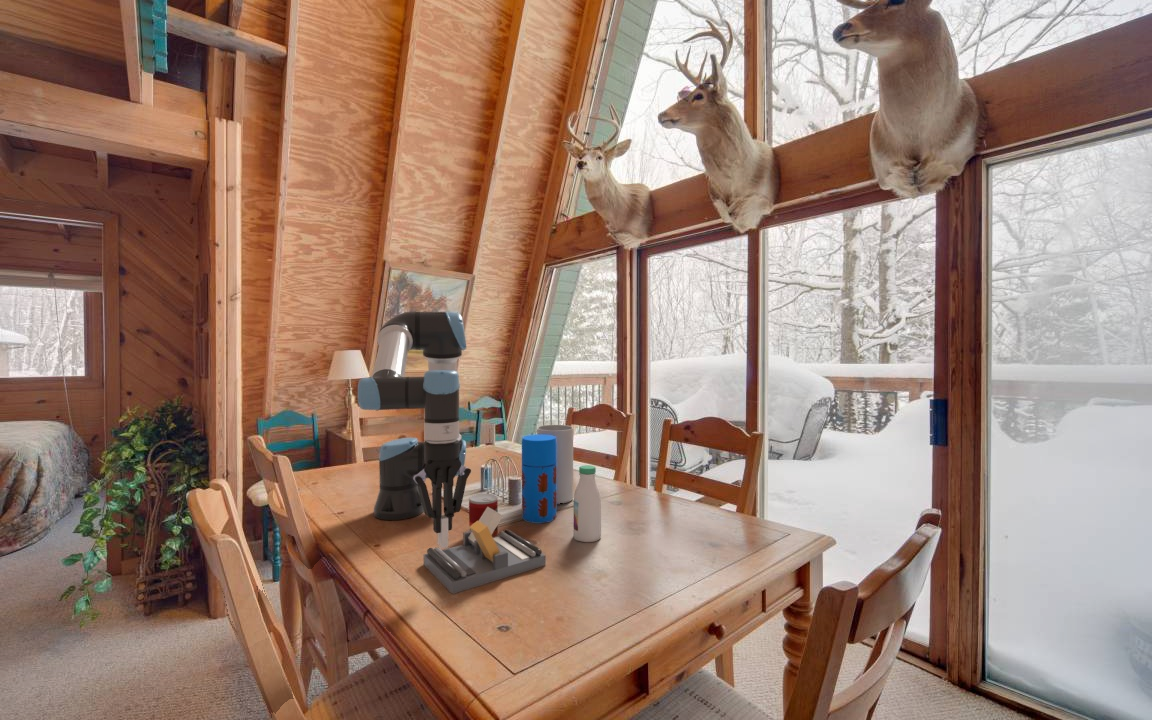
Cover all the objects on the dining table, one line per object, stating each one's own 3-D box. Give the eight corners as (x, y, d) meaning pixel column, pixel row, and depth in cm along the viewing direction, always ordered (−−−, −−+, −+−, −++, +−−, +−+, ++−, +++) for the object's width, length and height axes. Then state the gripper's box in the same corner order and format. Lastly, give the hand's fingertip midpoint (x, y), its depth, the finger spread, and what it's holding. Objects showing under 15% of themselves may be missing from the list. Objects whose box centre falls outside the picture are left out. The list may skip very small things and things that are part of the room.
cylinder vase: (541, 493, 184) (541, 424, 183) (575, 494, 182) (575, 425, 181) (533, 504, 171) (533, 430, 170) (570, 505, 170) (570, 431, 169)
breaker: (466, 540, 130) (487, 506, 133) (473, 544, 131) (494, 510, 134) (474, 547, 126) (496, 511, 129) (481, 551, 127) (503, 515, 130)
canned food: (492, 542, 139) (491, 502, 138) (464, 540, 140) (464, 500, 140) (501, 532, 146) (501, 494, 146) (475, 530, 148) (475, 492, 147)
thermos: (561, 513, 162) (561, 435, 161) (549, 524, 152) (548, 441, 151) (530, 509, 166) (530, 433, 165) (516, 520, 155) (515, 439, 155)
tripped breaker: (486, 558, 122) (469, 526, 119) (494, 552, 123) (477, 520, 120) (495, 566, 118) (478, 533, 115) (504, 559, 119) (487, 526, 116)
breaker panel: (423, 564, 125) (423, 541, 125) (509, 541, 139) (509, 521, 139) (452, 594, 110) (452, 568, 110) (545, 565, 124) (545, 542, 124)
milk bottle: (605, 535, 144) (605, 465, 143) (594, 544, 137) (594, 471, 136) (580, 530, 147) (580, 462, 147) (568, 540, 140) (568, 468, 140)
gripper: (418, 446, 105) (419, 558, 106) (476, 439, 113) (477, 544, 114) (406, 440, 111) (408, 547, 112) (462, 434, 119) (463, 534, 120)
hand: (442, 545), depth 113 cm, fingers closed
